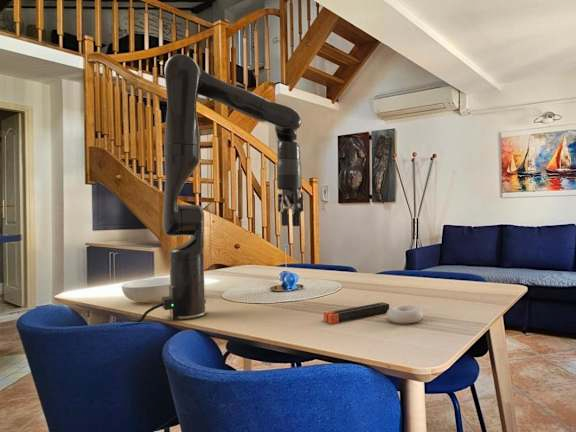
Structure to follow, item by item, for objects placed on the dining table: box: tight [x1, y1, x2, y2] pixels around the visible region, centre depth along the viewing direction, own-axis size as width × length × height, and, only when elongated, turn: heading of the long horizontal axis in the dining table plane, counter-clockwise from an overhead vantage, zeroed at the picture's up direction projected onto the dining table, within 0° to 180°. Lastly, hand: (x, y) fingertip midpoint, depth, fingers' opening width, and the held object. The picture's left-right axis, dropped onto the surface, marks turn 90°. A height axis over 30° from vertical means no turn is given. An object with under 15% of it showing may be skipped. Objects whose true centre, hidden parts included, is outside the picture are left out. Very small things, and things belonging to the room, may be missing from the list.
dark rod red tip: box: [323, 302, 390, 325], centre depth 120 cm, size 20×4×2 cm, turn 126°
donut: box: [386, 304, 424, 325], centre depth 115 cm, size 10×4×10 cm
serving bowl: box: [120, 276, 170, 304], centre depth 149 cm, size 21×21×7 cm
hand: (290, 225), depth 131 cm, fingers open, 8 cm apart
